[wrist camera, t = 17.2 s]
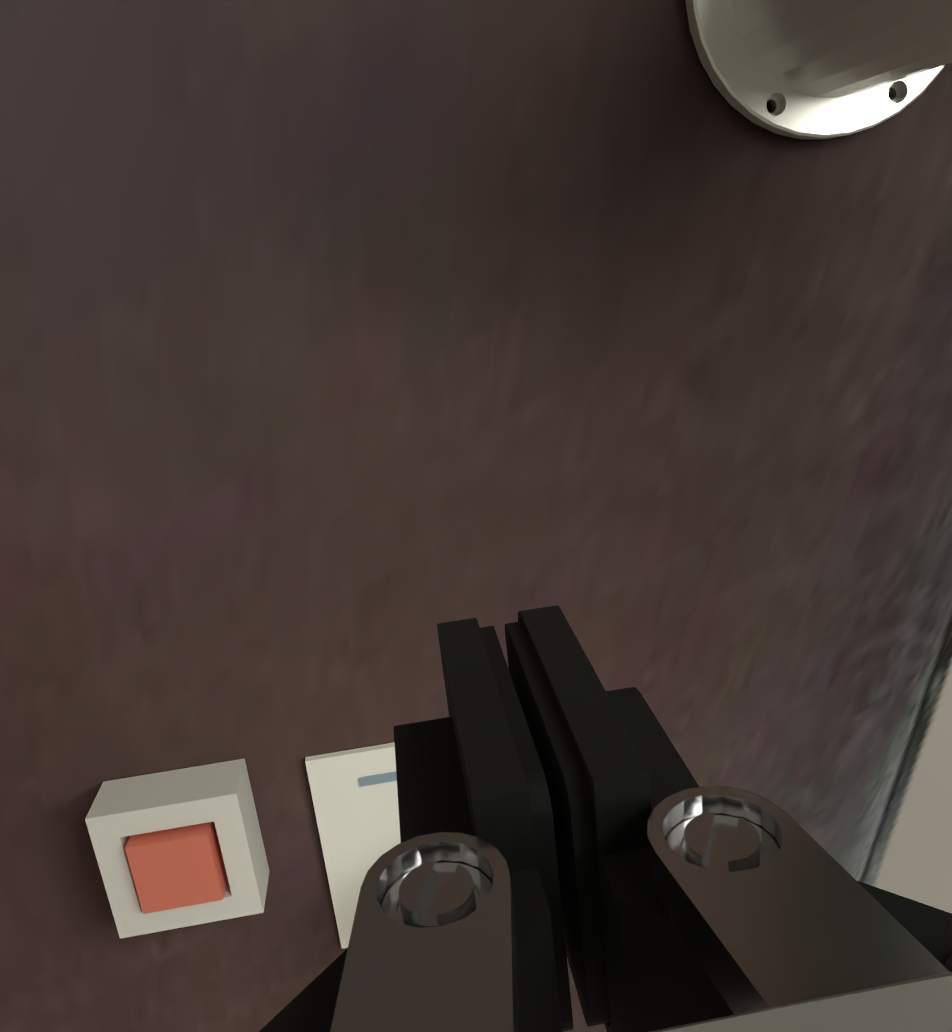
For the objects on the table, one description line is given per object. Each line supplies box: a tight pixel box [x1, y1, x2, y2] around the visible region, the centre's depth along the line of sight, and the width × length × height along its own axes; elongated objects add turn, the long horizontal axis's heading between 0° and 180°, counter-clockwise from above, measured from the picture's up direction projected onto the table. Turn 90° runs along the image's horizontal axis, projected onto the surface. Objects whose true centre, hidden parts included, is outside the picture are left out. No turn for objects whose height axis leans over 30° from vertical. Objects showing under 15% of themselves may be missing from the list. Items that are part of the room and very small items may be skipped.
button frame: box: [85, 758, 270, 938], centre depth 43 cm, size 7×7×3 cm
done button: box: [125, 821, 228, 914], centre depth 42 cm, size 4×4×3 cm
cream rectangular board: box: [305, 743, 401, 949], centre depth 46 cm, size 15×12×1 cm
